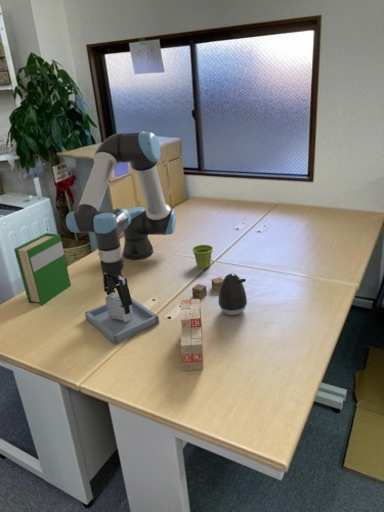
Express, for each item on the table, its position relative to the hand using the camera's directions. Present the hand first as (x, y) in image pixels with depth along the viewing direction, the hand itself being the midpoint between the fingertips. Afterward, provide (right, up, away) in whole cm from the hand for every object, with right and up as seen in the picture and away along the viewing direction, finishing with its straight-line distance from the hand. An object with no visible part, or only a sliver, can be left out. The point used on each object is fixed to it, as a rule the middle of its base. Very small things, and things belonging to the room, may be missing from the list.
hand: (120, 315), depth 145 cm
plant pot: (+31, +17, +39) cm, 53 cm away
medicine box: (0, -1, 0) cm, 1 cm away
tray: (0, -2, +1) cm, 3 cm away
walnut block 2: (+36, +8, +18) cm, 42 cm away
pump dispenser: (+41, +1, +2) cm, 41 cm away
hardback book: (-34, +5, +25) cm, 43 cm away
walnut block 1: (+29, +6, +14) cm, 33 cm away
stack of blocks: (+26, -8, -17) cm, 32 cm away
